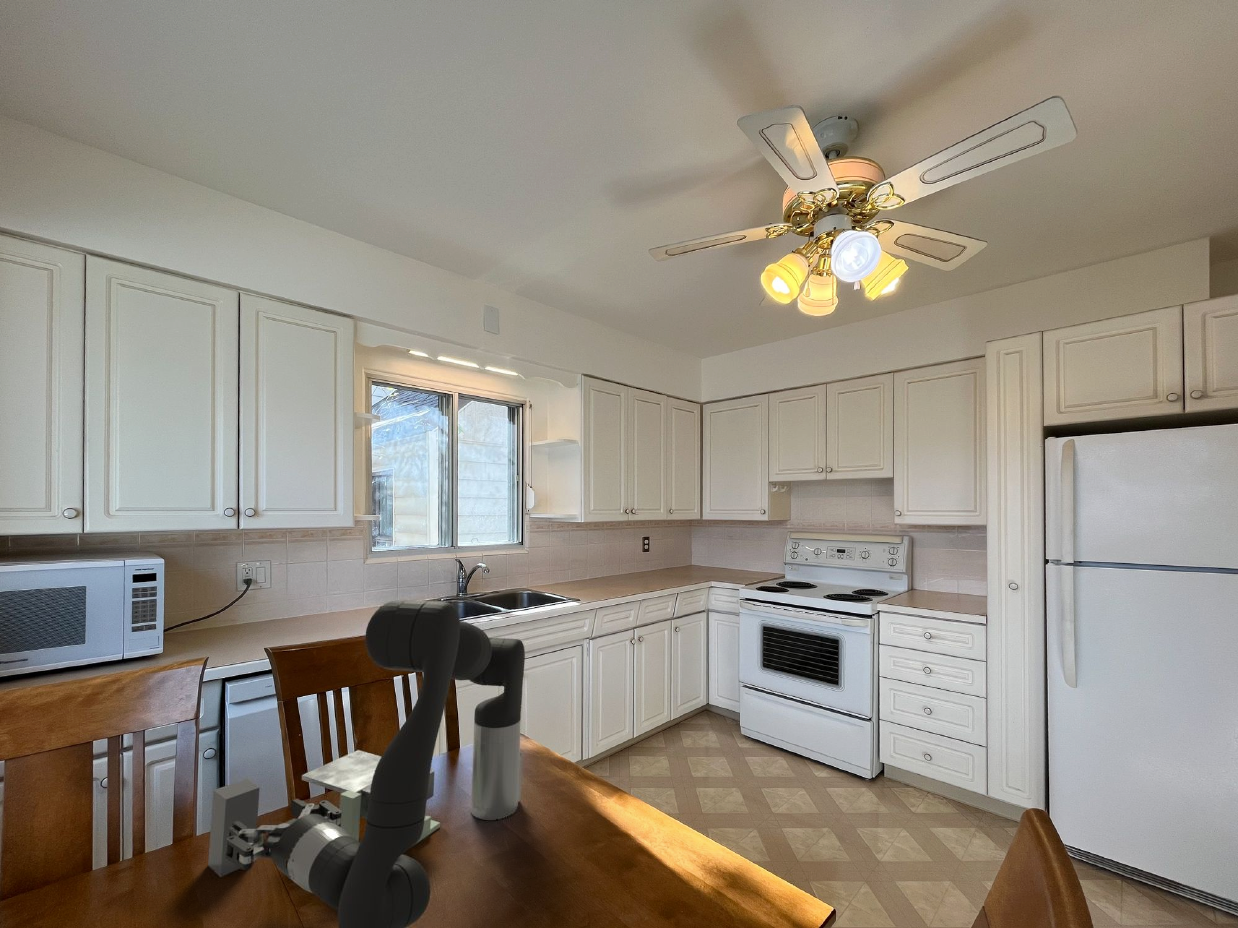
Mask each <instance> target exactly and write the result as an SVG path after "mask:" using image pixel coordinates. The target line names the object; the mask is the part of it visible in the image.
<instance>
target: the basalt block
mask: <svg viewBox="0 0 1238 928" xmlns="http://www.w3.org/2000/svg"><path fill="white" fill-rule="evenodd" d="M260 788H261V787H260V786H258V785H257V784H256V783H254V782H252V781H251V780H250V779H247V778H244V779H243V780H240V781H239V780H238V781H236V782H233V783H230V784H227V785H225V786H222V787H219V788H216V789H213V794H212V804H211V805H212V806H211V807H212V808H211V820H210V822H211V823H210V835H209V846H208V848H209V849H208V859H207V860H208V861H207V862H208V863H207V864H208V867H209V868H210V869H211V870H212V871H213V870H214V871H213V873H215V874H217V876H219V877H220V878H221V877H225V876H227V875H228V874H231V873H233V872H236V871H237V870H239V869H241V868H240V867H238V866H237V865H235V864H234V863H232V862H231V861H229V860H228V859H226V858H225V854H226V846H227V843H226V842H227V838H228V837H229V831H230V827H231V826H232V823H233V822H235V821H240V822H241V823H242V824H244V825H245V826H246V827H248V829H257V828H258V817H259V802H260ZM253 841H254V838H253V837H248V843H253ZM255 862H256V860H254V861H253V863H255Z"/></svg>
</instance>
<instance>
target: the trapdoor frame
mask: <svg viewBox="0 0 1238 928" xmlns="http://www.w3.org/2000/svg"><path fill="white" fill-rule="evenodd" d="M360 804H361V794H359V793H356V792H353V791H350V790H348V791H346V792H344V793H340V796H339V808H338V809H340V810H341V811H342V816H341V828H342V829H344V830H345V831H347V832H348V833H349V834H350V835H351V836H352V837H353V838H354V839H356V840H357V841H359V839H360V838H359V837H360V821H361V820H360V819H361V817H360ZM440 827H441V822H439V821H436V820H433V819H432V817H431V816H430V815H425V819H424V827H423V832H422V835H421V837H420V839H419V840H418V842H417V843H416V844H418V843H420V842H421V841H422V840H424V839H425V838H427V837H428V836H429V835H431V834H432V833H433V832H435V831H436V830H438V829H439V828H440ZM359 842H360V841H359ZM416 844H414V845H413V846H415V845H416ZM413 846H412V847H413Z"/></svg>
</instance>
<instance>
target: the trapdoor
mask: <svg viewBox="0 0 1238 928" xmlns="http://www.w3.org/2000/svg"><path fill="white" fill-rule="evenodd" d="M381 757H382V755H381V756H380V755H377V754H374V753H371V752H370V753H369V752H366V751H363V750H360V749H357V750H356V751H354V752H350V753H349V754H345V755H344V756H342V757H340V758H337V759H334V760H332V761H331V762H328V763H326V764H324V765H322V766H319V767H317V768H315V769H312V770H311V771H308V772H306V773H304V774H302V775H301V781H305V782H308V783H310V784H313V785H315V786H320V787H322V788H325V789H328V790H331V791H335V792H337V793H340V794H342V793H344V792H346V791H348V790H350V791H353V792H356V793H359V794H361V804H360V819H364V820H366V819H367V811H368V803H369V796H370V789H371V783H372V779H373V775H374V772H375V769H376V767H377V764H378V762H379V760H380V758H381ZM434 788H435V770H433V769H431V770H430V776H429V785H428V794H427V801H428V800H429V799H431V798H432V797H434V791H435V789H434Z"/></svg>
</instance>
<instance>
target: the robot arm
mask: <svg viewBox="0 0 1238 928" xmlns="http://www.w3.org/2000/svg"><path fill="white" fill-rule="evenodd" d="M364 638H365V639H364V640H365V641H364V642H365V647H366V650H367V653H368V655H369V657H370V659H371V660H372V661H373V663H374V664H375V665H377V666H378V667H379V668H382V669H385V670H389V671H403V672H417V673H423V674H422V681H421V686H420V689H419V690H420V691H419V694H418V697H417V699H416V703H415V705H414V706H413V708H412V710H411V712H410V714H409V715H408V716H407V718H406V721H405V722H404V723H403V724H402V726H401V728H399V731H398V732H397V733H395V736H394V738H392V740H391V741H390V742H389V744H388V746H387V747H386V748H385V750H384V752H383V753H382V755H381V758H380V760H379V762H378V764H377V767H376V769H375V772H374V775H373V779H372V783H371V789H370V796H369V803H368V811H367V819H365V820H366V821H365V828H364V832H363V835H362V838H361V839H360V841H357V840H356V839H354V838H353V837H352V836H351V835H350V834H349V833H348V832H347V831H345V830H344V829H342V828H341V816H342V811H341V810H340V809H339V808H338V807H337V806H335V805H334V804H333V803H331V802H330V801H328V800H327V799H326V800H321V801H320V802H319V803H318V804H317V805H316V804H315V803H313V802H311V803H308V802H306V801H305V800H300V799H299V798H295V799H293V800H291V802H290V803H291V805H290V814H291V815H292V816H294V817H295V818H292V819H289V820H287V821H286V822H284V823H279V824H276V825H275V824H272V825H269V824H268V825H267V824H266V825H265V824H264V825H263V824H262V825H260V826H258V827H257V829H248V827H246V826H245V825H244V824H242V823H241V822H240V821H235V822H233V823H232V826H231V827H230V831H229V837H228V838H227V842H226V843H227V846H226V854H225V858H226V859H228V860H229V861H231V862H232V863H234V864H235V865H237V866H238V867H240V869H241V870H243V871H247V870H250V869H251V868H253V864H254V862H253V861H254V860H255V861H256V860H258V859H261V858H264V859H271V860H273V863H274V865H275V866H276V867H277V869H278V870H279V871H280V872H281V873H282V874H283V875H285V876H286V877H287V878H289V880H291V881H292V882H294V883H295V884H296V885H297V886H299V887H300V888H302V889H303V890H305V891H306V892H308V893H311V894H313V895H314V896H316V897H317V898H318V899H320V900H321V901H322V902H324V903H325V904H326V905H328V906H329V907H331V908H333V909H335V910H337V924H338V925H337V926H338V928H408V927H410V926H411V925H413V924H414V923H416V922H417V921H418V920H419V919H420V918H421V917H422V916H423V915H424V913H425V912H426V910H427V907H428V906H429V903H430V900H431V899H430V898H431V881H430V878H429V876H428V873H427V872H426V869H425V868H424V867H423V866H422V864H421V863H420V862H418V860H416V859H414V858H413V857H410V856H409V855H406V854H404V853H405V852H407V851H408V850H409V849H411V848H413V845H414V844H415V845H416V844H418V843H419V842H418V840H419V839H420V837H421V835H422V832H423V827H424V819H425V816H426V810H427V801H428V800H427V794H428V785H429V776H430V770H432V762H433V756H434V752H435V747H436V744H437V739H438V734H439V731H440V727H441V723H442V719H443V715H444V711H445V707H446V702H447V698H448V693H449V691H450V685H451V682H452V680H456V681H469V682H471V683H473V684H475V685H480V686H490V687H493V686H494V687H503V691H502V692H503V693H501V694H499V695H498V696H497V695H496V696H494V697H492V698H488V699H484V700H483V701H481V702H480V703H478V704H477V705H476V707H475V709H474V719H473V747H472V749H473V751H472V773H471V774H472V775H471V797H470V800H471V801H470V812H471V814H472V816H474V817H475V818H477V819H480V820H485V821H495V820H496V819H498V820H502V818H503V819H505V817H506V818H508V817H510V816H511V814H512V815H514V813H516V812H517V810H518V808H519V803H518V801H519V800H520V801H521V788H522V761H523V760H522V758H523V756H522V753H521V750H520V749H521V719H522V717H521V716H522V705H523V704H522V703H523V686H524V685H523V684H524V671H525V662H526V661H525V660H526V654H525V653H526V651H525V646H524V643H523V641H522V640H520V639H518V638H507V637H506V638H505V637H504V638H503V637H489V636H488V635H487V633H486V632H485V631H484V630H482V629H481V628H479V627H478V626H476V625H474V624H472V623H469V622H466V621H461V619H460V614H459V612H458V609H457V608H456V606H454V605H453V604H452V603H451V602H446V601H432V600H412V599H398V600H392V601H389V602H387V603H384V604H383V605H381V606H380V607H379V608H378V609H377V610H375V612H374V614H373V615H372V616H371V618H370V620H369V621H368V623H367V626H366V629H365V637H364ZM517 807H518V808H517ZM516 809H517V810H516ZM509 815H510V816H509ZM507 816H508V817H507ZM496 821H497V820H496ZM264 834H266V836H265V839H264ZM248 837H253V838H254V841H253V843H248ZM417 842H418V843H417ZM415 845H414V846H415Z"/></svg>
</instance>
